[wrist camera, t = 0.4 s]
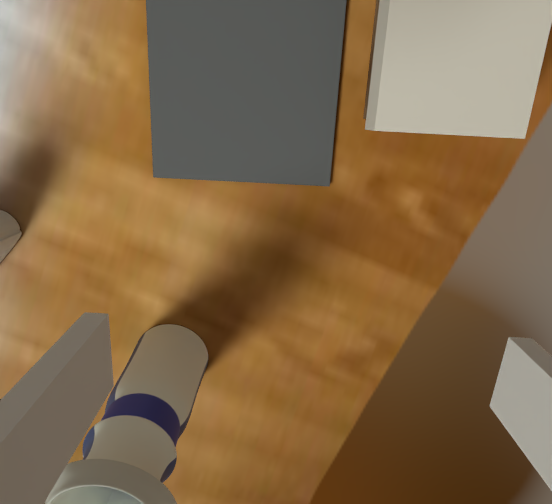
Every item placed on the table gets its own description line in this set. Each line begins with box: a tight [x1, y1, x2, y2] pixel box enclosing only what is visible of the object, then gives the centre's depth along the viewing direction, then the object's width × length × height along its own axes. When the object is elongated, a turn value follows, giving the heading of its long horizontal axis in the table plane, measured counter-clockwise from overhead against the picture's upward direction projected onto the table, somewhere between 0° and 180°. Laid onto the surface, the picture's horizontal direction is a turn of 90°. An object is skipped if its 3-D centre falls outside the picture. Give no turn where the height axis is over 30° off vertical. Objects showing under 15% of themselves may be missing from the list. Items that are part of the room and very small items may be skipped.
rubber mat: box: [146, 0, 346, 186], centre depth 33 cm, size 28×16×1 cm, turn 177°
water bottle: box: [45, 324, 208, 504], centre depth 32 cm, size 8×9×25 cm
